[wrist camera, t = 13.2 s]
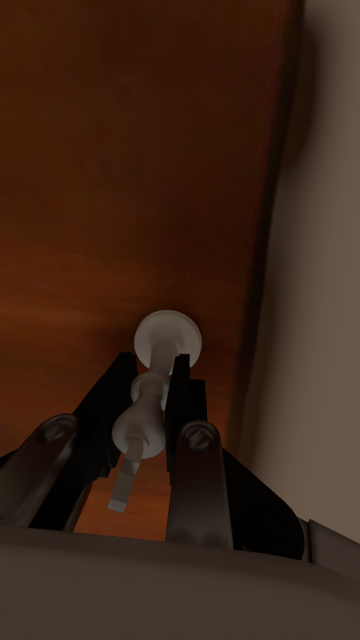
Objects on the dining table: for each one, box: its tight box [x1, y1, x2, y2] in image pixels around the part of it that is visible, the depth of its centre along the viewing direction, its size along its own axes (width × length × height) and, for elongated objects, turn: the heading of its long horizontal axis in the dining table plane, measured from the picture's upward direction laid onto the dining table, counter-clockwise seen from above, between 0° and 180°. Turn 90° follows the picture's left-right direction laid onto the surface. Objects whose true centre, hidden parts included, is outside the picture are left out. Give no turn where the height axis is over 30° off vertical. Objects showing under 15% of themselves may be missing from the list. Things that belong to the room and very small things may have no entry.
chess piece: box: [107, 310, 202, 513], centre depth 10 cm, size 5×5×10 cm
